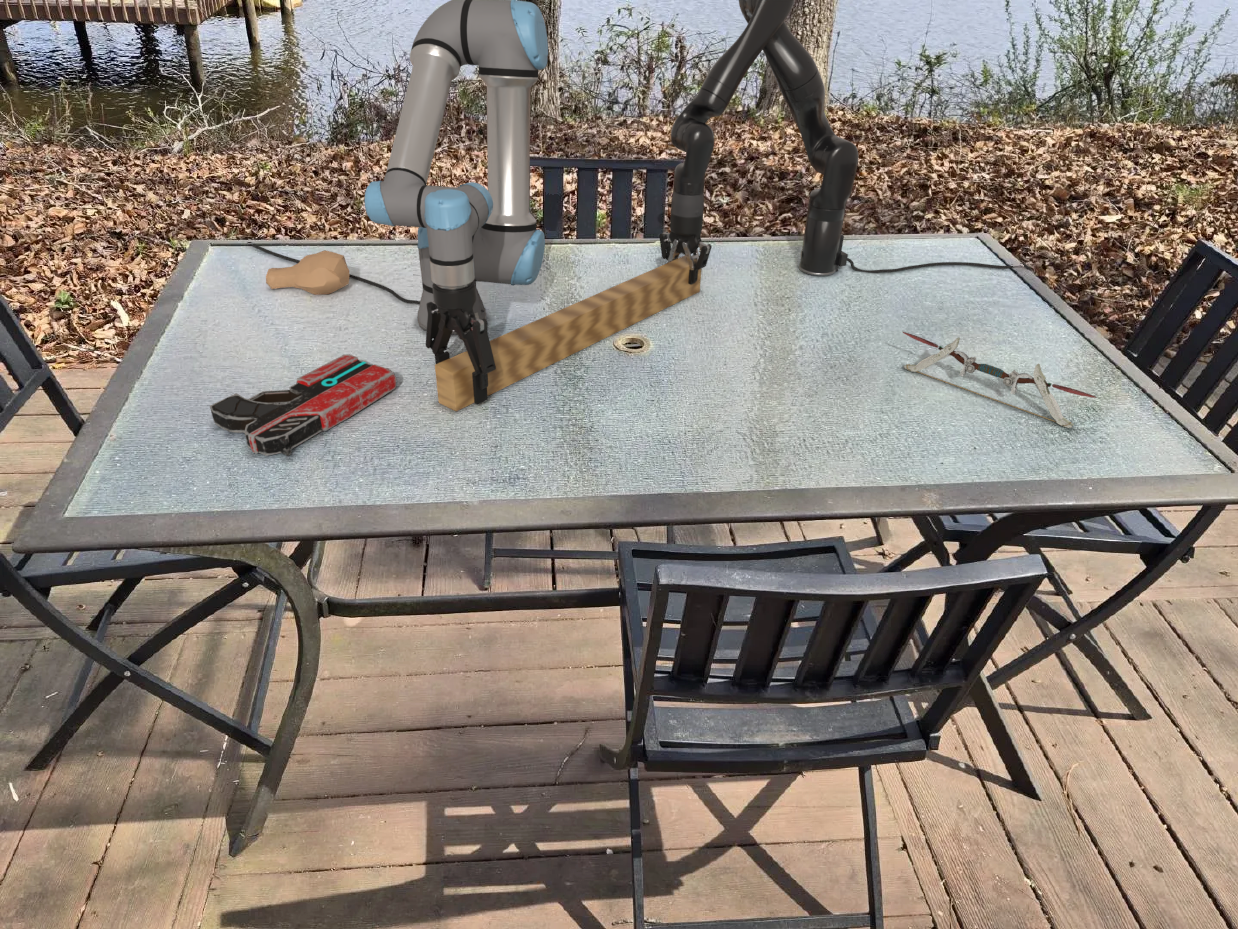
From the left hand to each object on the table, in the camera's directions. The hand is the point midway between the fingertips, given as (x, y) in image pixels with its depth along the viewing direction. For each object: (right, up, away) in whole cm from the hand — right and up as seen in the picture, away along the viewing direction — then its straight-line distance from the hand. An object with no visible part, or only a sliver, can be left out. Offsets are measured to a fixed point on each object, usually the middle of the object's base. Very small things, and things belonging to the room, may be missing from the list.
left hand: (463, 392), depth 167 cm
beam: (+23, +13, +24) cm, 35 cm away
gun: (-28, -4, -4) cm, 29 cm away
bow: (+102, 0, +7) cm, 102 cm away
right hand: (+45, +31, +44) cm, 70 cm away
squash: (-44, +28, +43) cm, 68 cm away
